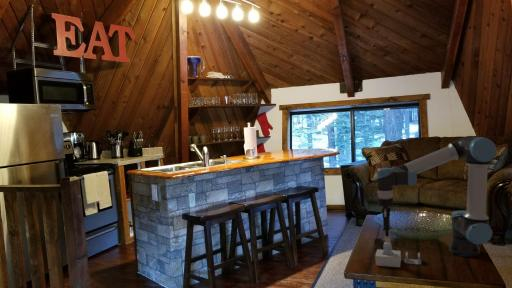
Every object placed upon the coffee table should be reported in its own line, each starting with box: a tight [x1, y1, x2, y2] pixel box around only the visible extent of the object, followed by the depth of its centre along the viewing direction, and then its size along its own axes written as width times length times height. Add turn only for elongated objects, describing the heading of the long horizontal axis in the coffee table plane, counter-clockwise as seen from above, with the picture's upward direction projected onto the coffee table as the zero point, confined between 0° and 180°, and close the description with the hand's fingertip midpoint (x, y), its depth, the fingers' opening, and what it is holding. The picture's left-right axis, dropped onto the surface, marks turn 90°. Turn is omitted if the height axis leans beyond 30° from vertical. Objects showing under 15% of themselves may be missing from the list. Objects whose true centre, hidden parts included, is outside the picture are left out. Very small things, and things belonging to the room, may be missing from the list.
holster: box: [404, 251, 422, 265], centre depth 209 cm, size 8×6×5 cm
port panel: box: [374, 249, 402, 268], centre depth 210 cm, size 12×10×6 cm
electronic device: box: [373, 237, 385, 252], centre depth 228 cm, size 4×10×8 cm, turn 43°
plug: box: [383, 242, 393, 255], centre depth 210 cm, size 4×3×9 cm
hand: (387, 241), depth 209 cm, fingers closed
